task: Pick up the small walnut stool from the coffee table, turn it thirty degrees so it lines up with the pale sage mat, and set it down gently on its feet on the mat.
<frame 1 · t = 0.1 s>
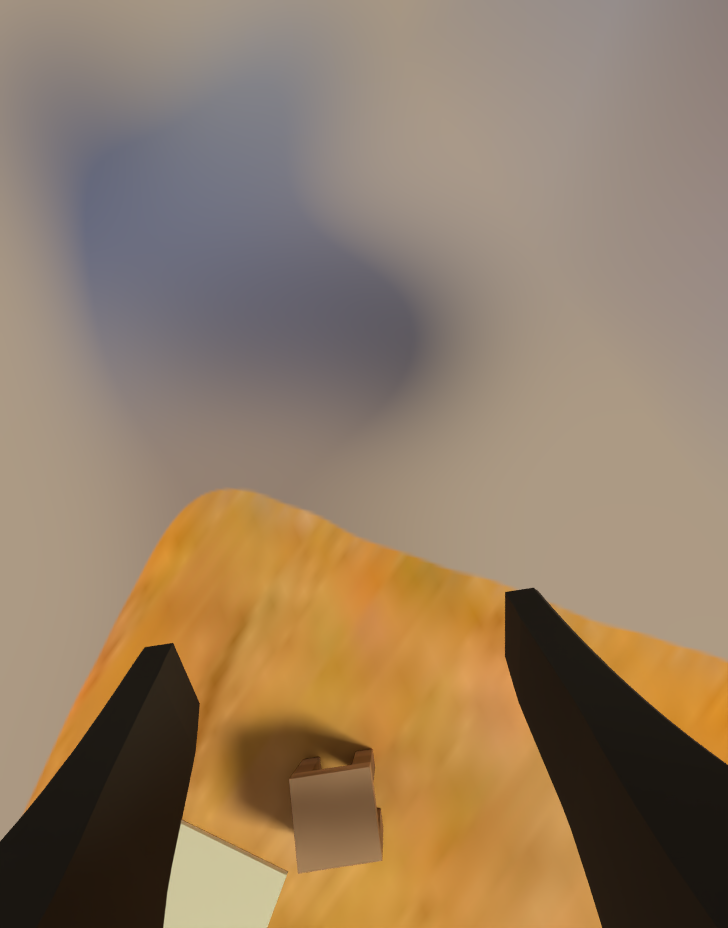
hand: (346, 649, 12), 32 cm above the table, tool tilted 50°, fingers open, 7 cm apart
stool: (342, 793, 40), on the table
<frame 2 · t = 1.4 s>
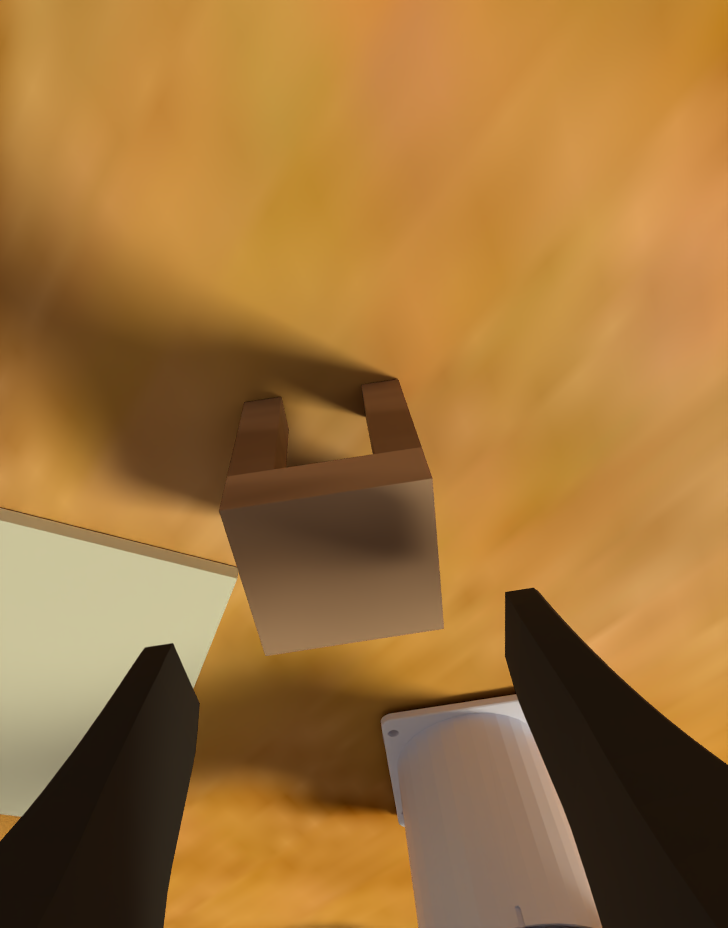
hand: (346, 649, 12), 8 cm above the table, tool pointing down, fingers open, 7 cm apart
mat: (39, 687, 24), on the table
stool: (333, 457, 20), on the table
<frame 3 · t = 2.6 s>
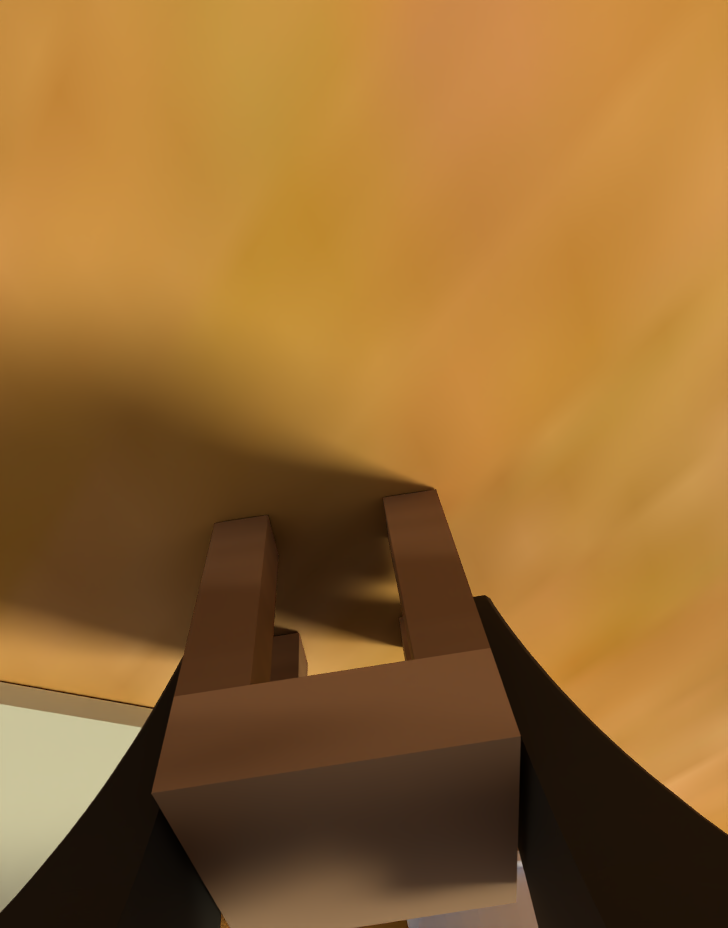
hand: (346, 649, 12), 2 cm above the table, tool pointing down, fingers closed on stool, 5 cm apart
stool: (341, 588, 14), on the table, touching gripper
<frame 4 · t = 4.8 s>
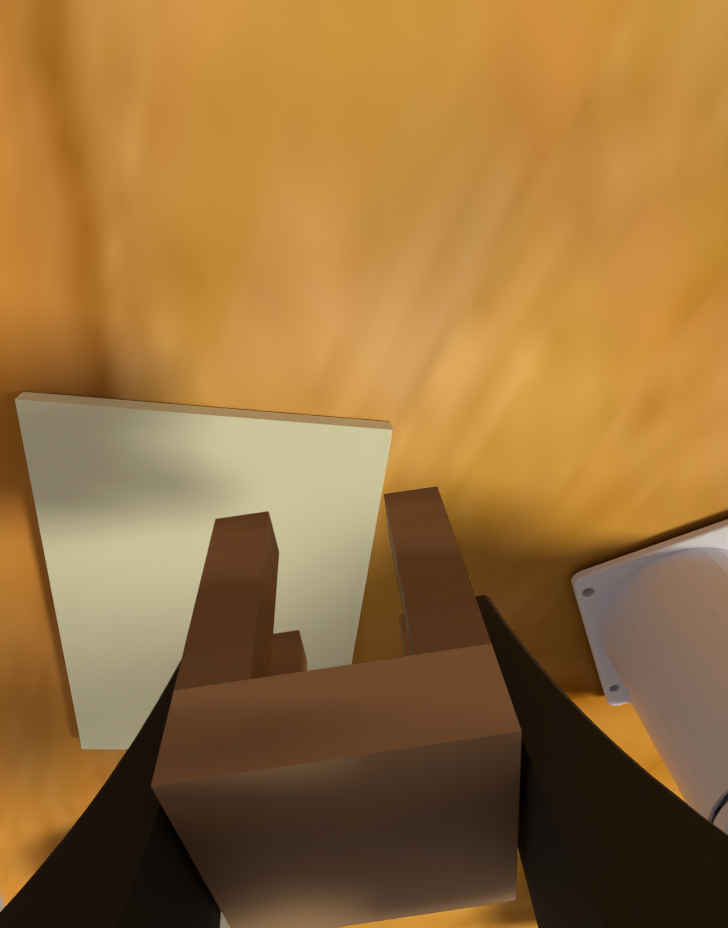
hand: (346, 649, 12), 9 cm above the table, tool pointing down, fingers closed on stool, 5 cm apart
mat: (214, 604, 24), on the table
stool: (342, 585, 14), point 7 cm above the table, touching gripper
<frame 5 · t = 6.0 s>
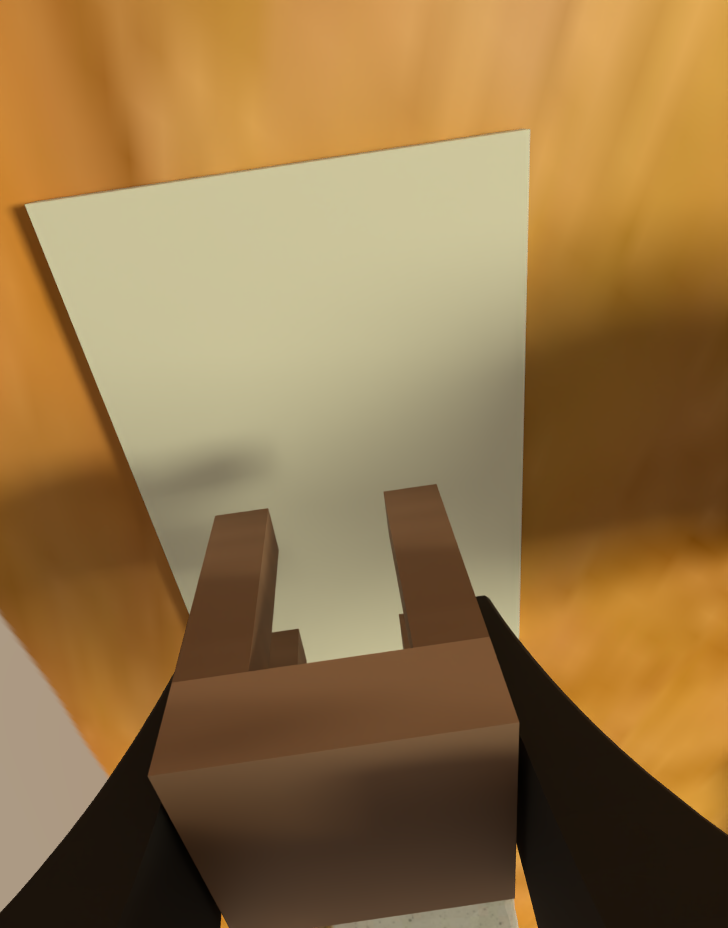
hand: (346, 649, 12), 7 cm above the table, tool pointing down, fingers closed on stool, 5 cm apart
ceramic mug: (409, 805, 30), on the table
mat: (335, 473, 19), on the table
stool: (341, 583, 14), point 5 cm above the table, touching gripper
when the fingers open (4 cm above the table, at t = 7.1 s): stool stays where it is, resting on mat.
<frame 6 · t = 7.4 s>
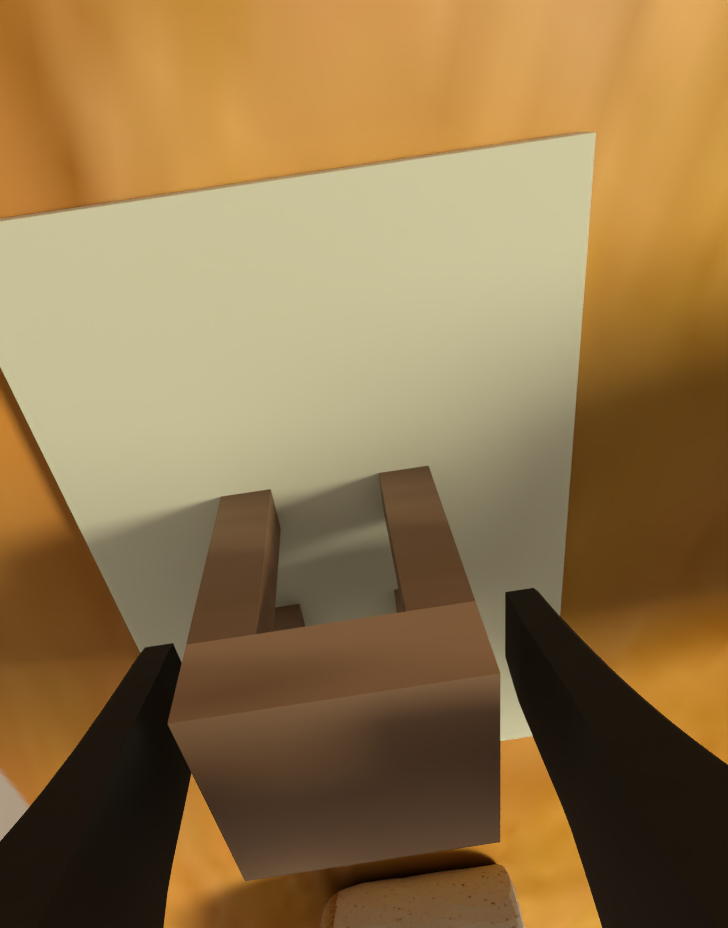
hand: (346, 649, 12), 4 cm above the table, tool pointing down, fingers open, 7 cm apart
ceramic mug: (420, 890, 27), on the table
mat: (338, 546, 15), on the table
stool: (339, 560, 15), point 1 cm above the table, touching mat
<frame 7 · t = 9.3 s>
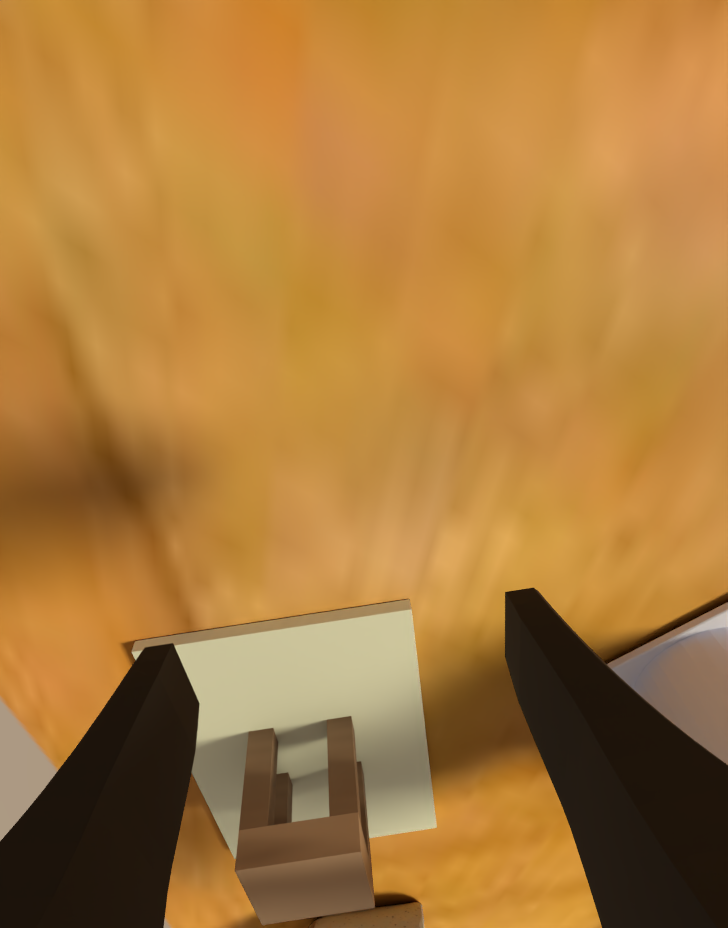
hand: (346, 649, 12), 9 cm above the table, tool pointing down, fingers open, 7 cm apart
ceramic mug: (371, 917, 41), on the table
mat: (308, 743, 29), on the table
stool: (308, 753, 29), point 1 cm above the table, touching mat
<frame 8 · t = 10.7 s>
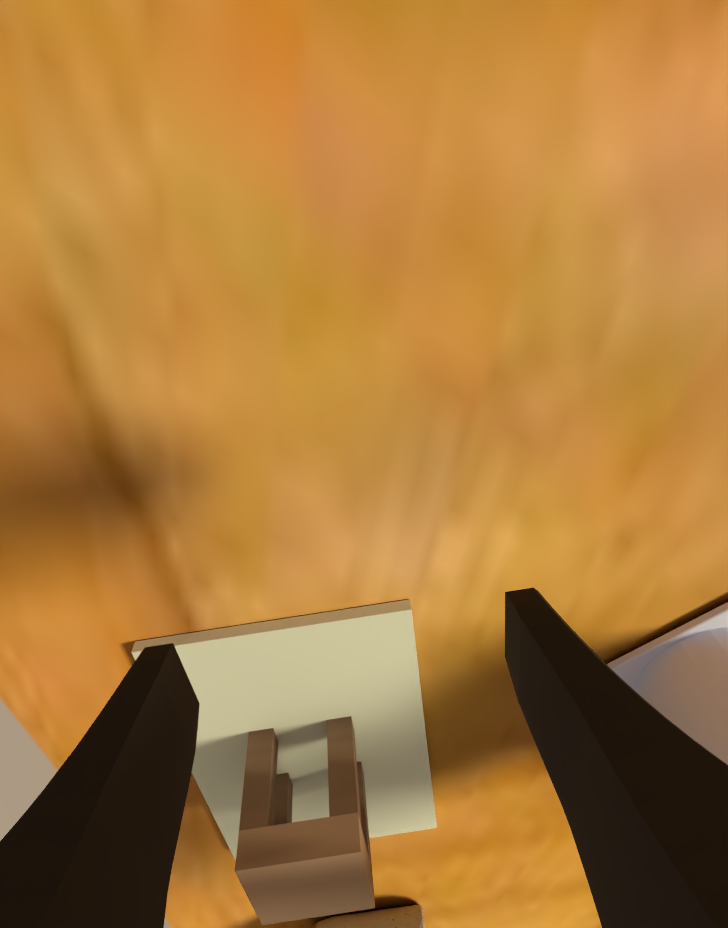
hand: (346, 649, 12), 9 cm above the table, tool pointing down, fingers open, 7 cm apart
ceramic mug: (371, 920, 41), on the table
mat: (308, 743, 29), on the table
stool: (308, 754, 29), point 1 cm above the table, touching mat
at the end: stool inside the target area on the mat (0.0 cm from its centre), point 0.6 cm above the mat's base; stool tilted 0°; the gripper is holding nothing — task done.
